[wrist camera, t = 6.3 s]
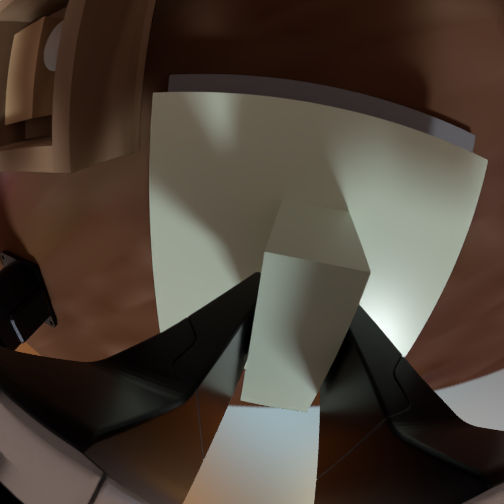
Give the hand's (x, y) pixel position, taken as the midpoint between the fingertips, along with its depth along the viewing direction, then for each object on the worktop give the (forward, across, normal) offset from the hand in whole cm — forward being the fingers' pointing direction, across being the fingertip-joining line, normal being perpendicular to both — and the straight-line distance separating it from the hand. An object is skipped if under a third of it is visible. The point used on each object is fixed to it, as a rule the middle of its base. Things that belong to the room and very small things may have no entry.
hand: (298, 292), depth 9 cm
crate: (+4, +13, -8) cm, 16 cm away
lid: (+3, 0, 0) cm, 3 cm away
